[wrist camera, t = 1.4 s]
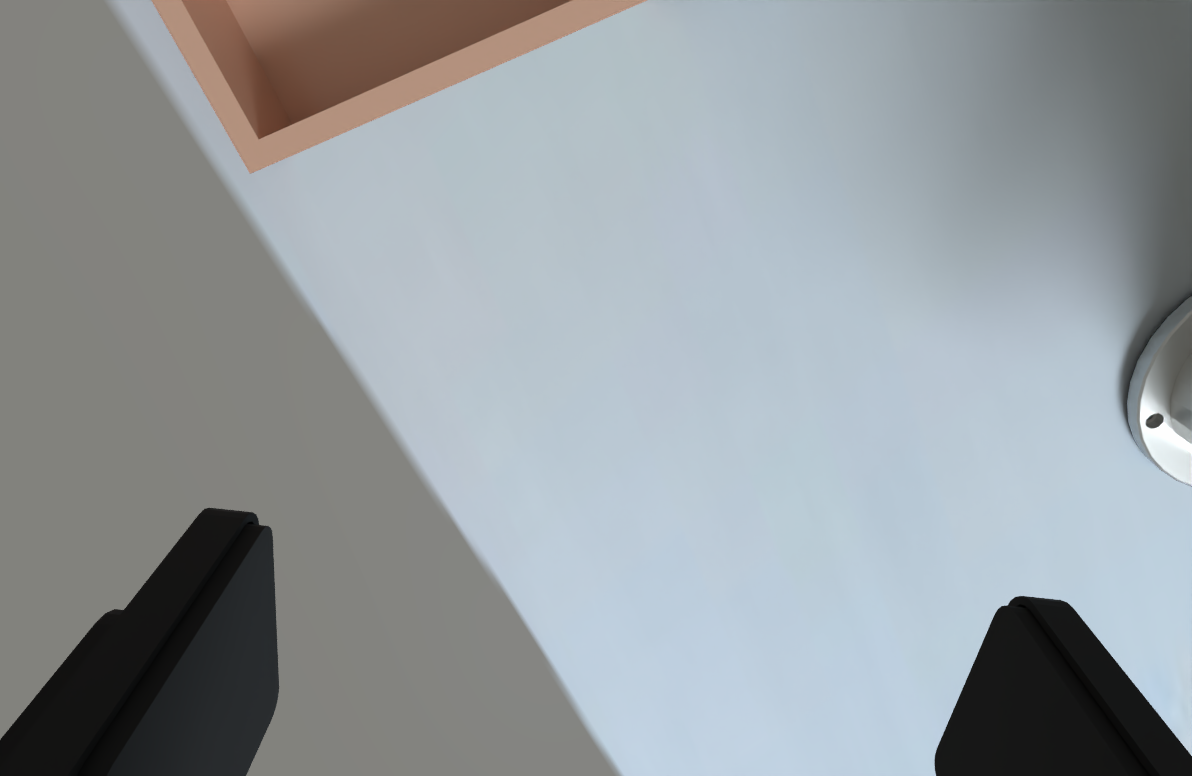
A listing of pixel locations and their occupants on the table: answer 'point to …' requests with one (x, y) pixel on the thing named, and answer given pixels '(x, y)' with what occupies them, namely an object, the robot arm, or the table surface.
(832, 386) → the table surface
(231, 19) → the salmon hollow open box
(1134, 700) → the robot arm
